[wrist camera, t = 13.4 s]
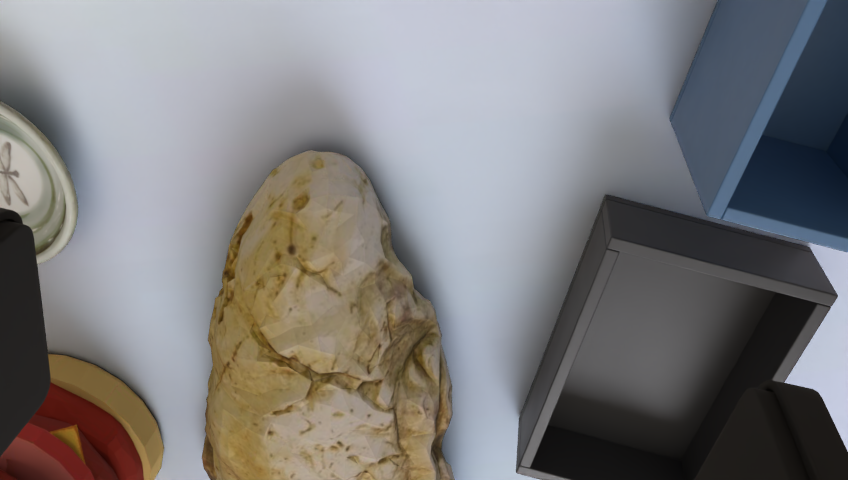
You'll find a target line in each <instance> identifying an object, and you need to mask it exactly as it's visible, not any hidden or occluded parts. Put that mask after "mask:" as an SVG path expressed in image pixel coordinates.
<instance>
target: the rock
mask: <svg viewBox="0 0 848 480" xmlns="http://www.w3.org/2000/svg"><path fill="white" fill-rule="evenodd" d="M222 283H223V288H222V289H221V290H220V292H219V296H218V297H216V298H215V304H214V310H213V314H212V318H211V322H210V329H209V337H208V341H209V344H210V347H211V352H212V360H213V367H212V371H211V374H210V378H209V381H208V397H207V399H206V400H207V408H206V413H205V416H206V427H205V431H206V434H207V435H206V437H205V443H204V449H203V454H202V460H203V466H204V469H205V471H206V472H207V474H208V476H209V478H210V479H211V480H455V479H454V475H453V472H452V468H451V465H449V464H448V463H447V462H446V461H445V458H444V456H443V453H442V451H441V447H442V439H443V437H444V435H445V432H446V430H447V428H448V426H449V423H450V420H451V417H452V384H451V380H450V375H449V371H448V367H447V363H446V359H445V355H444V352H443V348H442V345H441V337H442V334H441V331H440V327H439V323H438V322H437V318H436V312H435V309H434V307H433V306H432V304H431V302H430V300H427V299H425V298H424V297H423V296H422V295H421V294H420V293H419V292H418V291H417V290H415V289H414V285H413V280H412V275H411V274H410V273H409V271H408V270H407V269H406V268H405V267H404V266H403V265H402V263H401V262H400V261H399V260H398V258H397V256H396V255H395V253H394V250H393V246H392V241H391V223H390V220H389V218H388V216H387V214H386V212H385V211H384V209H383V207H382V205H381V204H380V202H379V200H378V198H377V196H376V194H375V191H374V189H373V187H372V184H371V182H370V180H369V179H368V177H367V176H366V174H365V173H364V171H363V170H362V168H360V167H359V166H358V165H357V164H356V163H354V162H353V161H352V160H351V159H349V158H348V157H347V156H345V155H342V154H338V153H333V152H316V151H312V150H309V151H306V152H303V153H301V154H298V155H296V156H293V157H290V158H289V159H287V160H286V161H285V162H283V163H282V164H281V165H279V166H278V167H277V168H275V169H273V170H272V172H271V173H270V175H269V176H268V177H267V179H266V180H265V182H264V183H263V184H262V186H261V187H260V189H259V190H258V191H257V193H256V194H255V195H254V197H253V199H252V200H251V202H250V203H249V205H248V207H247V208H246V210H245V212H244V214H243V215H242V217H241V219H240V221H239V223H238V225H237V227H236V229H235V231H234V234H233V237H232V239H231V242H230V245H229V249H228V255H227V260H226V265H225V269H224V271H223V276H222Z"/></svg>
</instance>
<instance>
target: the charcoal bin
mask: <svg viewBox="0 0 848 480" xmlns="http://www.w3.org/2000/svg"><path fill="white" fill-rule="evenodd" d="M837 297H838V295H837V293H836V292H835V290H834V288H833V286H832V285H831V283H830V281H829V280H828V278H827V276H826V275H825V273H824V271H823V269H822V268H821V266H820V264H819V263H818V261H817V259H816V258H815V256H814V254H813V253H812V251H811V249H810V248H809V247H806V246H803V245H799V244H795V243H791V242H787V241H783V240H779V239H776V238H772V237H768V236H764V235H760V234H756V233H752V232H748V231H745V230H741V229H737V228H733V227H729V226H725V225H721V224H718V223H714V222H710V221H706V220H702V219H698V218H694V217H691V216H687V215H683V214H679V213H675V212H671V211H667V210H663V209H660V208H656V207H652V206H648V205H644V204H640V203H636V202H633V201H629V200H625V199H621V198H617V197H613V196H609V195H605V197H604V199H603V202H602V204H601V207H600V210H599V212H598V215H597V217H596V220H595V223H594V225H593V228H592V230H591V233H590V236H589V238H588V241H587V243H586V246H585V249H584V251H583V254H582V256H581V259H580V262H579V264H578V267H577V269H576V272H575V275H574V277H573V280H572V282H571V285H570V288H569V290H568V293H567V295H566V298H565V301H564V303H563V306H562V308H561V311H560V314H559V316H558V319H557V321H556V324H555V327H554V329H553V332H552V334H551V337H550V340H549V342H548V345H547V347H546V350H545V353H544V355H543V358H542V360H541V363H540V366H539V368H538V371H537V373H536V376H535V379H534V381H533V384H532V386H531V389H530V391H529V394H528V397H527V399H526V402H525V404H524V407H523V410H522V412H521V415H520V417H519V428H518V446H517V464H516V473H518V474H522V475H526V476H529V477H533V478H537V479H541V480H694V479H695V478H696V476H697V474H698V472H699V471H700V469H701V467H702V465H703V463H704V462H705V460H706V458H707V456H708V455H709V453H710V451H711V449H712V448H713V446H714V444H715V442H716V440H717V439H718V437H719V435H720V433H721V432H722V430H723V428H724V426H725V424H726V423H727V421H728V419H729V417H730V416H731V414H732V412H733V410H734V408H735V407H736V405H737V403H738V401H739V400H740V398H741V396H742V394H743V393H744V392H745V390H747V389H748V388H757V389H758V387H759V386H760V385H761V384H762V383H763V382H765V381H766V380H773V381H778V382H782V383H784V382H785V380H786V379H787V377H788V375H789V374H790V372H791V371H792V369H793V367H794V366H795V364H796V363H797V361H798V359H799V358H800V356H801V355H802V353H803V351H804V350H805V348H806V347H807V345H808V343H809V342H810V340H811V339H812V337H813V335H814V334H815V332H816V331H817V329H818V327H819V326H820V324H821V323H822V321H823V319H824V318H825V316H826V315H827V313H828V311H829V310H830V308H831V307H830V306H832V305H833V303H834V302H835V300H836V299H837Z"/></svg>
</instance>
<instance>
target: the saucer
mask: <svg viewBox="0 0 848 480" xmlns="http://www.w3.org/2000/svg"><path fill="white" fill-rule="evenodd" d="M0 208H5V209H9V210H13V211H15V212H17V213H18V214H19V215H20V217H21V218H22V221H23V224H24V225H27V226H29V227H30V228H31V229H32V231H33V235H34V242H35V250H36V258H37V265H38V264H41V263H43V262H46V261H48V260H50V259H52V258H53V257H55V256H56V255H57V254H59V253H60V252H61V251H62V250H63V249H64V248H65V247H66V245H67V244H68V242H69V241H70V239H71V237H72V235H73V233H74V230H75V227H76V223H77V217H78V202H77V196H76V191H75V188H74V184H73V181H72V178H71V175H70V173H69V171H68V169H67V167H66V165H65V163H64V162H63V160H62V158H61V156H60V155H59V153H58V152H57V150H56V149H55V148H54V146H53V145H52V144H51V142H50V141H49V140H48V139H47V138H46V137H45V135H44V134H43V133H42V132H41V131H40V130H39V129H38V128H37V127H36V126H35V125H34V124H32V123H31V122H30V121H29V120H28V119H26V118H25V117H24V116H23V115H22V114H20V113H19V112H17V111H16V110H15V109H13V108H11V107H9V106H8V105H7V104H5V103H3V102H1V101H0Z"/></svg>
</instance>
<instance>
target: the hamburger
mask: <svg viewBox="0 0 848 480" xmlns="http://www.w3.org/2000/svg"><path fill="white" fill-rule="evenodd" d="M48 358H49V367H50V375H51V382H50V388H49V391H48V394H47V396H46V398H45V401H44V402H43V404H42V405H41V407H40V408H39V409H38V410H37V412H36V413H35V414H34V415H33V417H32V418H31V419H30V420H29V422H28V423H27V424H26V425H25V427H24V428H23V429H22V430H21V432H20V433H19V434H18V435H17V437H16V438H15V439H14V440H13V442H12V443H11V444H10V445H9V447H8V448H7V449H6V450H5V452H4V453H3V454H2V455H1V457H0V480H154V479H155V477H156V475H157V474H158V472H159V470H160V469H161V464H162V458H163V451H164V447H163V443H162V439H161V435H160V432H159V428H158V425H157V422H156V420H155V419H154V417H153V416H152V414H151V413H150V411H149V410H148V408H147V407H146V405H145V404H144V402H143V401H142V400H141V399H140V398H139V397H138V396H137V395H136V394H135V393H134V392H133V391H132V390H131V389H130V388H129V387H128V386H127V385H126V384H125V383H123V382H122V381H121V380H120V379H118V378H116V377H115V376H113V375H111V374H109V373H108V372H106V371H104V370H103V369H101V368H99V367H98V366H96V365H94V364H91V363H88V362H85V361H82V360H78V359H75V358H72V357H69V356H66V355H55V354H48Z"/></svg>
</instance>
